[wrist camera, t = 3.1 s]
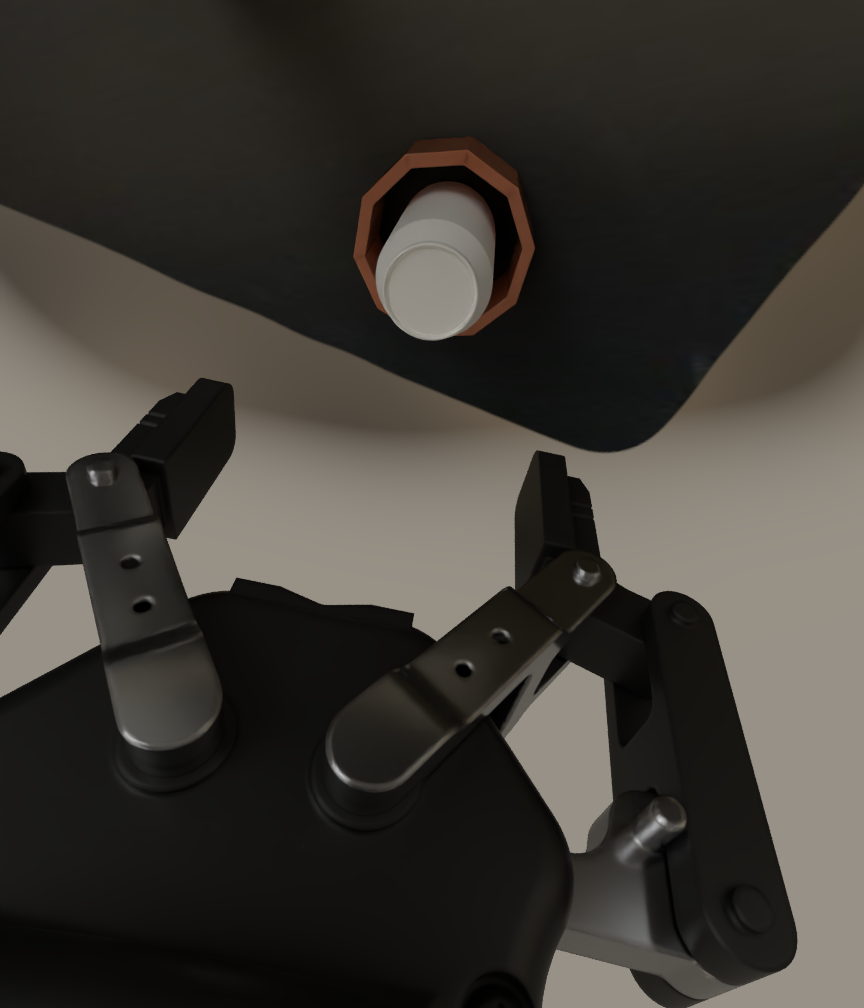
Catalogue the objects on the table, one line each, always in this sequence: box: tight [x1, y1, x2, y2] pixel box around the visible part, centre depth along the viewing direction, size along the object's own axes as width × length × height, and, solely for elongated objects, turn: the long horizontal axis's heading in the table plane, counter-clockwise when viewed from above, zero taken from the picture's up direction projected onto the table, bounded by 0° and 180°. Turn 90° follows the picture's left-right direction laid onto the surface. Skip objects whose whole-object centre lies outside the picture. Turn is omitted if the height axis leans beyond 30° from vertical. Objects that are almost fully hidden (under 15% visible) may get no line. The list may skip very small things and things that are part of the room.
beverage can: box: [376, 181, 496, 340], centre depth 34 cm, size 6×6×12 cm
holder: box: [353, 137, 535, 336], centre depth 36 cm, size 10×11×5 cm
